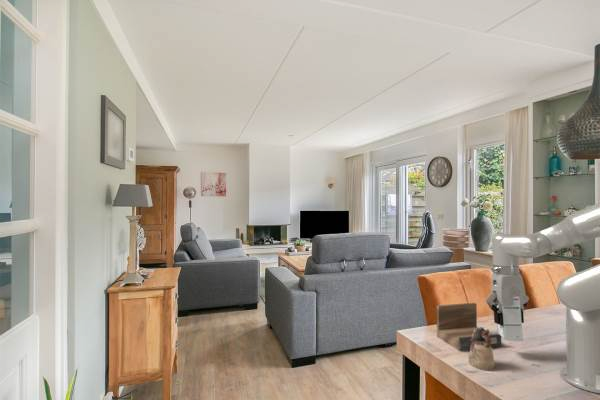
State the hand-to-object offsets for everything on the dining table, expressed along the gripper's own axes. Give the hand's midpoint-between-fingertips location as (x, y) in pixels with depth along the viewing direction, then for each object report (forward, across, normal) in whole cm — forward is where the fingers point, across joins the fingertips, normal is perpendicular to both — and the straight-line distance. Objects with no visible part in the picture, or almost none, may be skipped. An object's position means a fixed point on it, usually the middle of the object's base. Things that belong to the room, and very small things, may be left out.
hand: (509, 322), depth 107 cm
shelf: (+11, -6, +13) cm, 18 cm away
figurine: (+11, -14, -3) cm, 18 cm away
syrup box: (+5, 0, 0) cm, 5 cm away
